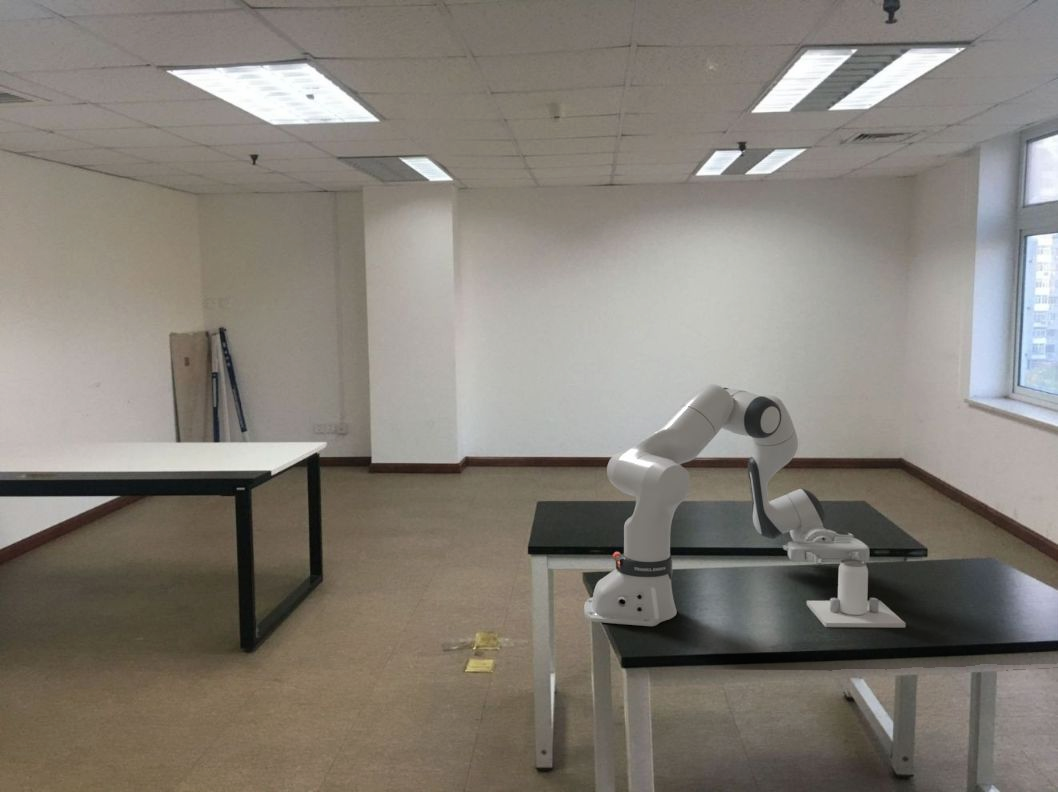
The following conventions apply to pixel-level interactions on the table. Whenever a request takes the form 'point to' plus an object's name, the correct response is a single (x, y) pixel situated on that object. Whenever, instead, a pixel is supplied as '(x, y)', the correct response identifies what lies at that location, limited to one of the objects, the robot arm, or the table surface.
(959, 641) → the table surface
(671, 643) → the table surface
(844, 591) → the can
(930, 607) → the table surface
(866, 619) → the pin plate
